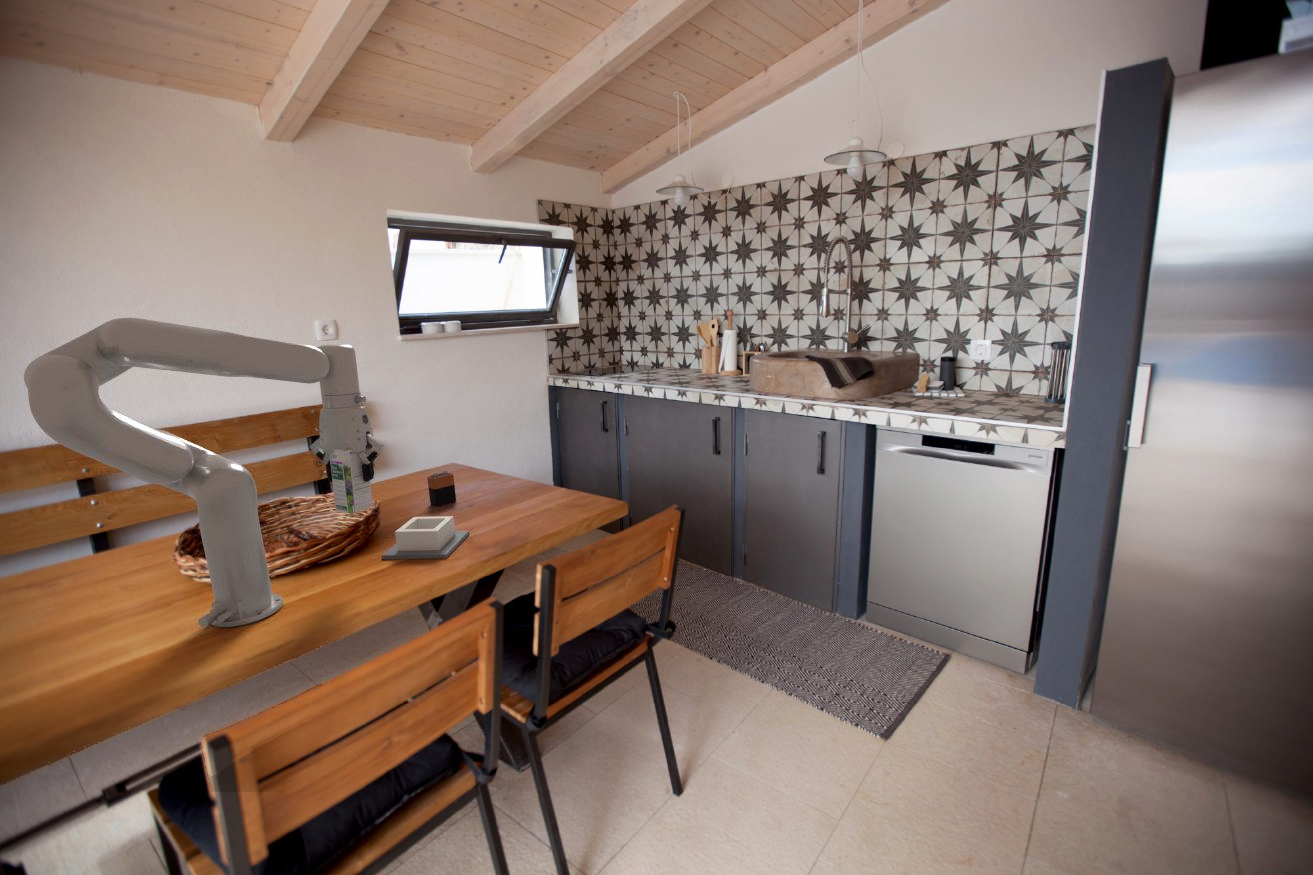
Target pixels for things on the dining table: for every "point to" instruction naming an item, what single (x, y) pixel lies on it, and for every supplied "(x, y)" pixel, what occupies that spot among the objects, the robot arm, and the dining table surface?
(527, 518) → the dining table surface
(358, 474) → the syrup box
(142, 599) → the dining table surface
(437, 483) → the battery
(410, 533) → the socket
